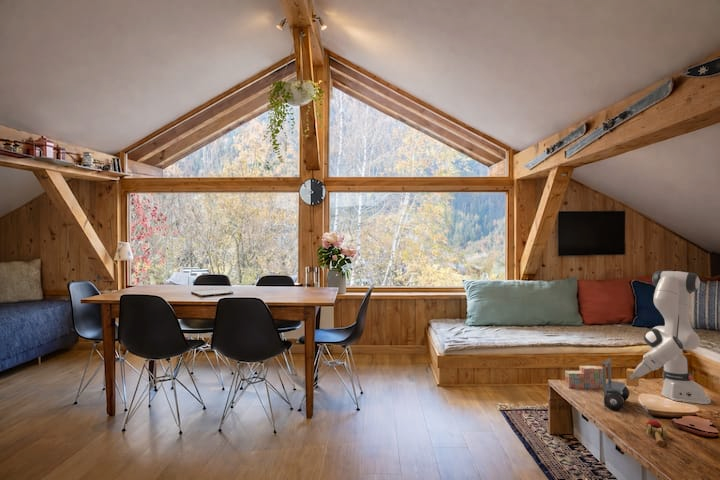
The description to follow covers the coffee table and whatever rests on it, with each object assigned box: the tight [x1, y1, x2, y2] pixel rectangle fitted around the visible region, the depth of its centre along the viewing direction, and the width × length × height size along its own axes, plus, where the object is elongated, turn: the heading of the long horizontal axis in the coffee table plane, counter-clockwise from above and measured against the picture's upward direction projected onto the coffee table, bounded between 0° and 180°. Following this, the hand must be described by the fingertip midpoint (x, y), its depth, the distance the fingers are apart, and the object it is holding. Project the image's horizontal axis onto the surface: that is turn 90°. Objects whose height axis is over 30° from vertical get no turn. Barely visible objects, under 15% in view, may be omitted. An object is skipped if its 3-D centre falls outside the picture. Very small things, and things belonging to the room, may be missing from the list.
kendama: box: [645, 419, 667, 448], centre depth 199 cm, size 8×6×18 cm
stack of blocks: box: [564, 365, 604, 389], centre depth 272 cm, size 21×6×12 cm, turn 87°
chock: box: [625, 368, 640, 388], centre depth 235 cm, size 5×5×8 cm
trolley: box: [602, 357, 630, 412], centre depth 241 cm, size 10×21×23 cm, turn 141°
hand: (631, 376), depth 235 cm, fingers closed on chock, 5 cm apart
